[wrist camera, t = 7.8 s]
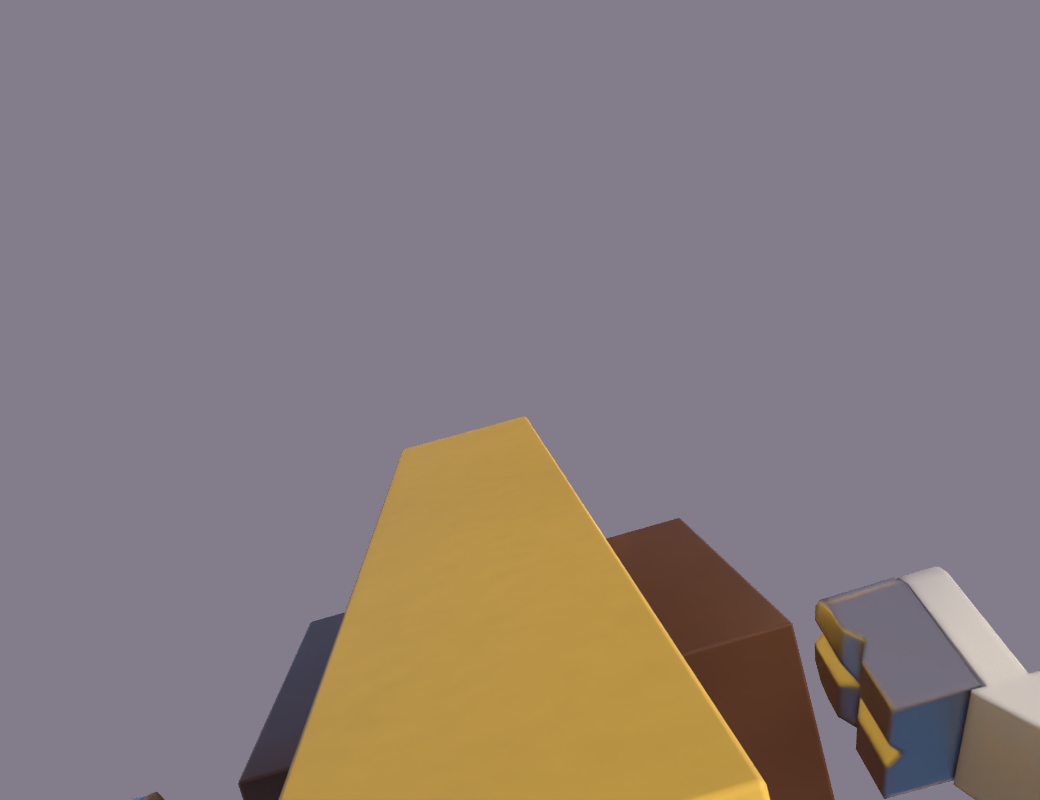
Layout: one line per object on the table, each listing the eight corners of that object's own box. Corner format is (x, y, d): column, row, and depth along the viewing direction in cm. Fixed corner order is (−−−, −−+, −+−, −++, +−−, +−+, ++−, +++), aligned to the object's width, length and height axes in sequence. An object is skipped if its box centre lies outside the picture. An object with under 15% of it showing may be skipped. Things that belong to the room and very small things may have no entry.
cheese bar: (343, 1303, 7) (222, 941, 6) (428, 540, 29) (401, 449, 28) (856, 1140, 7) (767, 780, 7) (550, 506, 29) (526, 415, 28)
